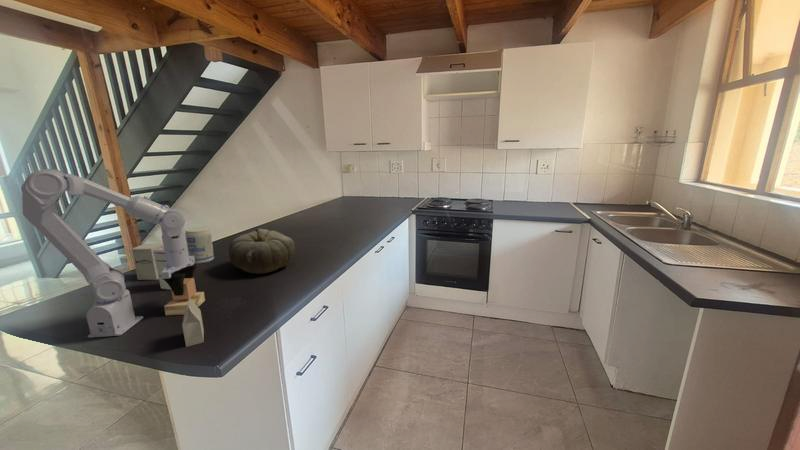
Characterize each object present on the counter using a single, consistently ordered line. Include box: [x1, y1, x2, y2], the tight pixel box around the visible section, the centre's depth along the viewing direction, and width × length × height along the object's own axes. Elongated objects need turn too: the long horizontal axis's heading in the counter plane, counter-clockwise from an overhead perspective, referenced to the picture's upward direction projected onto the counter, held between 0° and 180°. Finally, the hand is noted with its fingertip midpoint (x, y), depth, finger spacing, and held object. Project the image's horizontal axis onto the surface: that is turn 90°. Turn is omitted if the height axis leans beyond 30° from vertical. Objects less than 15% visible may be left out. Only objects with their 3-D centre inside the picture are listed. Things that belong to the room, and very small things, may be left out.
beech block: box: [163, 291, 206, 316], centre depth 98 cm, size 9×7×3 cm
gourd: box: [228, 228, 296, 275], centre depth 130 cm, size 25×25×17 cm
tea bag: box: [181, 298, 205, 348], centre depth 81 cm, size 4×7×10 cm, turn 31°
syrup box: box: [153, 248, 171, 291], centre depth 112 cm, size 6×6×14 cm
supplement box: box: [131, 243, 164, 281], centre depth 121 cm, size 7×7×13 cm
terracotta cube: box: [170, 277, 197, 300], centre depth 97 cm, size 4×4×5 cm
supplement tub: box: [184, 226, 215, 265], centre depth 139 cm, size 10×10×15 cm
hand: (183, 291), depth 97 cm, fingers closed on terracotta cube, 4 cm apart
